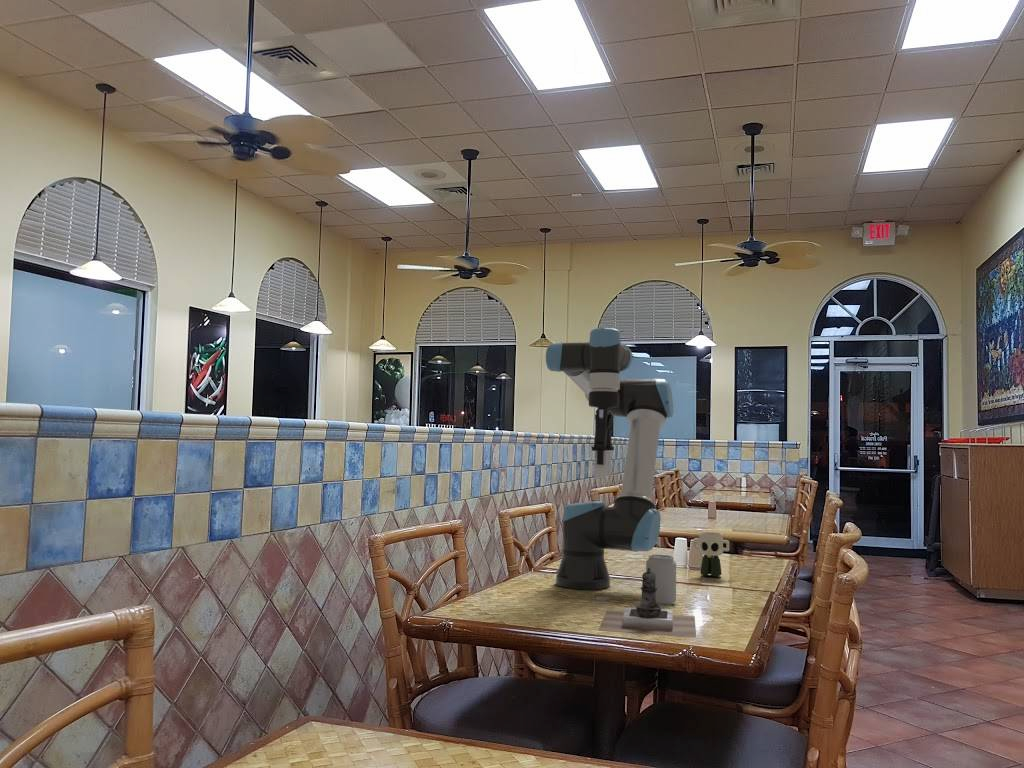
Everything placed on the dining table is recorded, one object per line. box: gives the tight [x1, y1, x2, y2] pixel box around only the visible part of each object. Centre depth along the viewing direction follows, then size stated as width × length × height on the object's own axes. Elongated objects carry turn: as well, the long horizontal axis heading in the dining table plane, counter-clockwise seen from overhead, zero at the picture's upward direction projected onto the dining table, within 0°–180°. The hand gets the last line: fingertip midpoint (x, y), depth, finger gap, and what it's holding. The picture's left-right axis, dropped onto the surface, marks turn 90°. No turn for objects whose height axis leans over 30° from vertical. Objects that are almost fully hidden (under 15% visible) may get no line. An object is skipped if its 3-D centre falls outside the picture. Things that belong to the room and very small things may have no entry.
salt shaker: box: [634, 568, 663, 618], centre depth 175 cm, size 6×6×12 cm
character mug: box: [692, 531, 730, 578], centre depth 244 cm, size 11×7×13 cm, turn 68°
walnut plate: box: [598, 610, 697, 638], centre depth 175 cm, size 20×20×1 cm
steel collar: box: [623, 606, 674, 630], centre depth 175 cm, size 10×10×2 cm
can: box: [645, 554, 677, 607], centre depth 202 cm, size 8×8×12 cm
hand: (602, 477), depth 196 cm, fingers open, 13 cm apart
